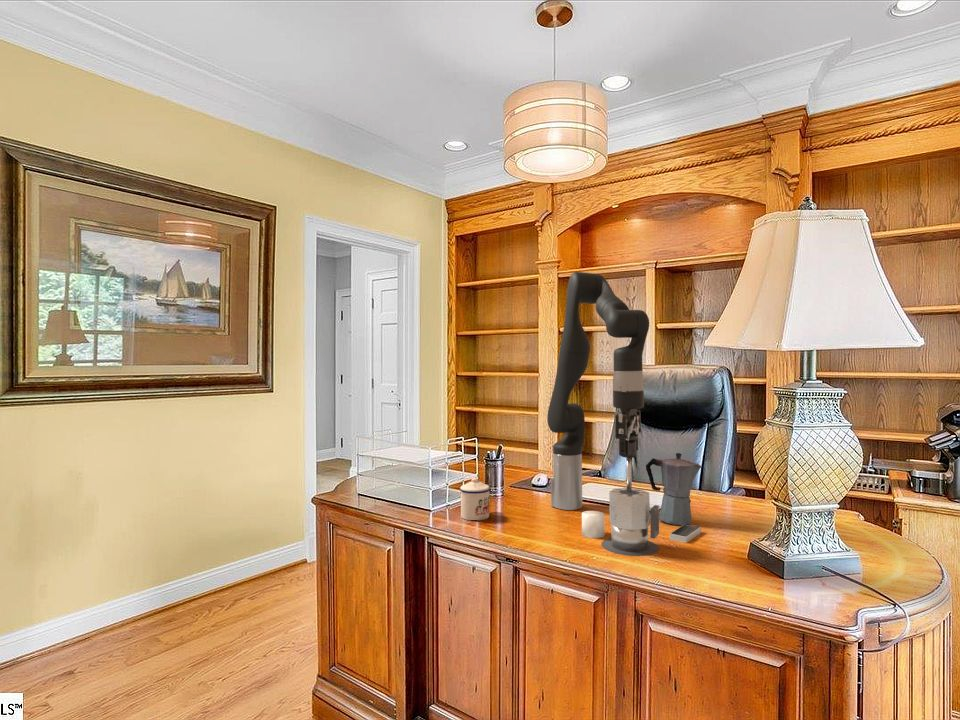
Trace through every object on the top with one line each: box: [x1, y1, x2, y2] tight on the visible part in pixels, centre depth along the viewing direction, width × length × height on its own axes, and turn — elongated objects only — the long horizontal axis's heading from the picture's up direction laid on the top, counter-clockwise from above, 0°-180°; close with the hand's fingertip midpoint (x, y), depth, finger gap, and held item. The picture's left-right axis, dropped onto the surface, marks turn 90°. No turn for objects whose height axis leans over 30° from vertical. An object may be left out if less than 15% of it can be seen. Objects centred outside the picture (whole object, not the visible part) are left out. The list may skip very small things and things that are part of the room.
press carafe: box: [608, 487, 660, 552], centre depth 135 cm, size 11×9×14 cm
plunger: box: [621, 436, 639, 493], centre depth 136 cm, size 5×5×14 cm
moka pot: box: [645, 452, 703, 526], centre depth 157 cm, size 10×15×20 cm, turn 78°
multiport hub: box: [669, 524, 702, 544], centre depth 143 cm, size 4×11×2 cm, turn 139°
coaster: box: [600, 537, 660, 557], centre depth 136 cm, size 14×14×1 cm
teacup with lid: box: [459, 477, 491, 521], centre depth 165 cm, size 12×9×12 cm
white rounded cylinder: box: [581, 510, 606, 539], centre depth 145 cm, size 6×6×6 cm
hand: (629, 453), depth 136 cm, fingers open, 8 cm apart
